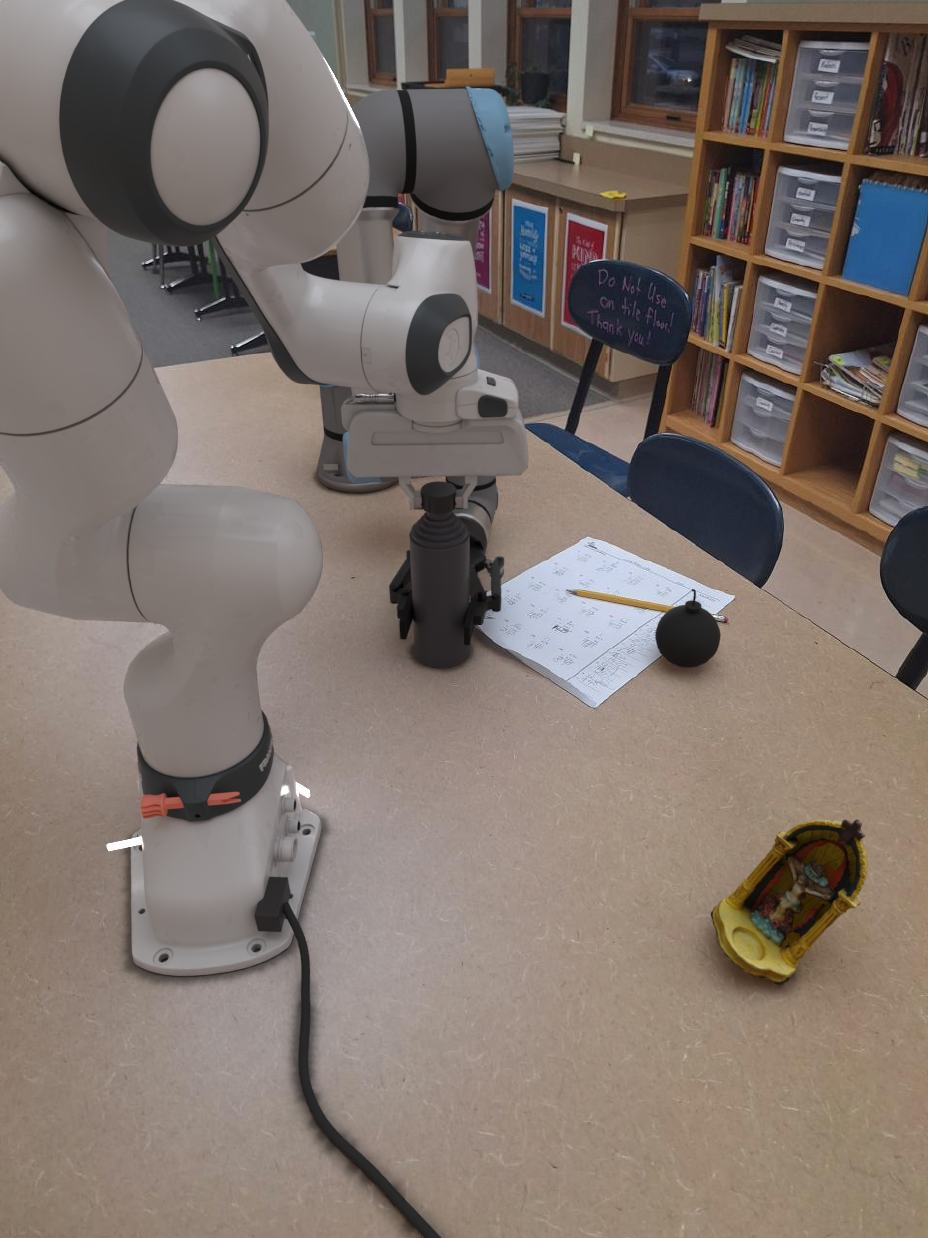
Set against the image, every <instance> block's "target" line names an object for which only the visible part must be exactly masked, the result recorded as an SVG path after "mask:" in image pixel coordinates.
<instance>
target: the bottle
mask: <svg viewBox="0 0 928 1238" xmlns="http://www.w3.org/2000/svg"><path fill="white" fill-rule="evenodd" d="M408 541H409V550H410V563H411V584H412V605H413V621H412V625H413V644H414V645H413V646H414V655H415V658H416V659H417V661H419V662H420V663H421V664H423V665H425V666H427V667H430V668H435V669H449V668H453V667H456V666H459V665H461V664H462V663H464V662H465V661H466V660H467V659H468V658H469V656H470V653H471V652H470V651H471V644H470V645H464V624H465V620H466V616H467V611H468V607H469V603H470V599H471V596H470V534H469V531H468V529H467V527H466V525H465V524H464V523H463V522H462V521H461V520H460V519H459V518H458V517H457V516H456V515H455V514H454V513H453V512H452V511H451V512H449V513H445V514H432V513H428V512H426V511H424V513H423V515H421V516H420V517H419V519H418V520H417V521H416V522H415V523H414V524H413V525H412V527H411V529H410V531H409V535H408Z"/></svg>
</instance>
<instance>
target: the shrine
mask: <svg viewBox="0 0 928 1238" xmlns="http://www.w3.org/2000/svg"><path fill="white" fill-rule="evenodd" d="M862 827H863V823H862V822H861V821H860V820H859V819H857V818H856V819H854V821H853V822H851V821H850V820H848V819H843V820H842V821H841V820H837V819H836V820H835V819H834V820H833V819H827V818H826V819H821V818H820V819H819V818H818V819H810V820H807V821H804V822H801V823H798V824H796V825H795V826H793V827H792V828H790V829H789V830H787V831H783V830H782V831H779V832H778V833H777V834H776V837H775V838H774V842H775V843H774V844H773V845H771V847H772V848H771V849H770V851H769V852H767V853H766V855H765V856H764V858H762V859H761V861H760V862H759V863H758V864H757V866H756V867H755V868H754V869H753V870H752V871H751V872H750V874H749V875H748V876H747V877H746V878H744V879H743V881H742V882H741V884H740V885H739V886H738V887H736V889H735V891H733V892H732V893H730V895H728V896H727V897H725V898H724V899H722V900H721V901H719V903H718V905H716V906H714V908H713V909H712V911H710V918H711V922H712V924H713V927H714V930H715V934H716V935H715V936H716V938H717V941H716V942H717V944H718V946H719V948H720V949H721V951H722V952H723V953H724V955H725V957H727V958H728V959H729V960H730V962H731V963H733V965H735V966H736V967H737V968H738V969H739V970H741V971H744V972H746V973H747V974H749V975H750V976H751V977H754V978H760V979H767V980H770V981H772V983H773V985H775V986H783V985H784V984H785V983H788V982H789V981H790V980H791V976H792V975H794V973H796V972H797V968H798V964H799V962H800V960H801V959H803V958H804V956H805V955H806V953H807V952H809V951H810V950H811V949H812V947H813V945H814V943H816V941H817V940H818V939H819V938H820V937H821V936H822V935H823V934H824V932H825V931H827V929H828V928H830V926H832V925H834V922H836V921H837V919H839V918H840V917H841V916H842V915H844V914H845V913H847V912H848V910H849V909H856V908H857V907H858V906H860V905H861V900H860V898H859V897H858V896H859V894H860V893H861V890H862V889H863V887H864V885H865V882H866V880H867V875H868V855H867V851H866V847H865V843H864V840H863V839H864V838H865V837H866V834H865V833H863V831H862Z"/></svg>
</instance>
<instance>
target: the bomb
mask: <svg viewBox="0 0 928 1238" xmlns="http://www.w3.org/2000/svg"><path fill="white" fill-rule="evenodd" d="M691 592H693V597H692V600H687V601H685V603H684V604H681V605H677V606H675V607H672V608H670V609H669V610H668V611H666V612H665V613H664V614H663V615H662V616H661V617H660V619H659V620H658V622H657V626H656V629H655V634H654V638H655V643H656V647H657V649H658V652H659V653H660V655H661V656H662V657H663V658H664V659H665V660H666V661H667V662H668V663H670V664H672V665H673V666H676V667H680V668H685V669H689V668H697V667H700V666H702V665H705V664H707V662H708V661H710V660H711V659H712V658H713V657H714V656H715V654H716V653H717V652H718V650H719V646H720V642H721V635H722V634H721V629H720V626H719V624H718V622H717V619H716V618H715V617H714V616H713V614H712V613H710V612H709V611H708V610H707V609H705V608H703V606H702V603H701V602H699V601H697V600H696V599H697V591H696V589H695V588H691Z"/></svg>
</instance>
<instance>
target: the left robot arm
mask: <svg viewBox="0 0 928 1238" xmlns="http://www.w3.org/2000/svg"><path fill="white" fill-rule="evenodd" d="M351 109H352V107H351V106H350V104H349V102H348V100H347V98H346V96H345V94H344V92H343V89H342V88H341V86H340V84H339V83H338V80H337V78H336V77H335V74H334V73H333V71H332V69H331V67H330V65H329V63H328V62H327V60H326V58H325V57H324V55H323V53H322V51H321V50H320V48H319V46H318V45H317V43H316V42H315V40H314V39H313V37H312V35H311V34H310V33H309V31H308V29H307V28H306V26H305V25H304V23H303V22H302V21H301V19H300V18H299V16H298V15H297V14H296V12H295V11H294V10H293V8H292V7H291V5H289V3H288V1H287V0H0V468H1V469H2V470H3V472H4V474H5V475H6V476H7V478H8V480H9V481H10V482H11V484H12V486H13V489H14V492H13V493H11V494H10V495H9V496H7V498H6V499H5V500H4V501H3V502H2V504H1V505H0V591H1V592H2V594H3V595H4V596H5V597H6V598H7V599H8V600H9V601H10V602H12V603H13V604H14V605H17V606H18V607H22V608H26V609H29V610H33V611H37V612H40V613H44V614H47V615H53V616H57V617H61V618H66V619H71V620H76V621H96V622H97V621H98V622H101V621H102V622H120V623H121V622H123V623H145V624H154V625H161V626H163V627H165V628H166V629H167V630H168V631H166V632H164V633H163V634H161V635H159V636H157V637H155V638H154V639H153V640H151V641H150V642H149V643H147V644H146V645H145V646H144V647H142V649H141V650H139V651H138V652H137V653H136V654H135V656H134V657H133V659H132V660H131V662H130V663H129V665H128V667H127V669H126V671H125V676H124V682H123V697H124V701H125V703H126V707H127V711H128V714H129V717H130V721H131V723H132V726H133V730H134V733H135V737H136V741H137V743H136V744H137V745H136V756H137V758H136V759H137V762H136V763H137V772H138V778H137V780H136V782H135V783H136V785H137V788H138V791H139V807H140V810H139V811H140V828H139V829H137V830H136V831H135V832H134V833H133V834H132V836H131V838H130V839H126V840H121V841H116V842H112V843H106V848H107V850H108V852H110V851H111V852H112V851H114V850H120V849H125V848H129V847H130V916H131V917H130V924H131V925H130V926H131V927H130V928H131V931H130V933H131V934H130V935H131V955H132V960H133V963H134V965H136V966H137V967H139V968H140V969H143V970H146V971H148V972H150V973H153V974H160V975H164V976H174V977H175V976H176V977H194V976H206V975H216V974H222V973H223V974H224V973H228V972H234V971H238V970H243V969H246V968H250V967H253V966H256V965H258V964H261V963H264V962H266V961H268V960H271V959H272V958H274V957H276V956H278V955H280V954H281V953H282V952H284V951H285V950H287V949H288V948H289V947H290V945H291V944H292V942H293V941H292V940H293V937H295V940H296V943H297V947H298V950H299V957H300V1005H301V1006H300V1028H299V1029H300V1030H299V1039H298V1040H299V1042H298V1073H299V1074H298V1075H299V1081H300V1085H301V1089H302V1090H301V1091H302V1094H303V1097H304V1100H305V1103H306V1106H307V1107H308V1110H309V1112H310V1114H311V1116H312V1118H313V1120H314V1121H315V1123H316V1124H317V1126H318V1128H319V1129H320V1130H321V1132H322V1133H323V1134H324V1136H325V1137H326V1138H327V1139H328V1140H329V1141H330V1142H331V1143H332V1145H334V1146H335V1147H336V1149H338V1150H339V1151H340V1152H341V1153H342V1154H343V1155H344V1156H345V1157H346V1158H347V1159H348V1160H350V1162H352V1163H353V1164H354V1165H355V1166H356V1167H357V1168H358V1169H359V1170H360V1171H361V1172H363V1173H364V1174H365V1176H366V1177H368V1178H369V1180H370V1181H371V1182H372V1183H373V1184H374V1185H375V1187H377V1188H378V1190H380V1192H381V1193H382V1194H383V1195H384V1196H385V1197H386V1198H387V1199H388V1200H389V1202H390V1203H391V1204H392V1205H393V1206H394V1207H395V1208H396V1209H397V1210H398V1212H399V1213H400V1214H401V1215H402V1216H403V1217H404V1218H405V1219H406V1221H408V1222H409V1223H410V1225H411V1226H412V1227H413V1228H415V1230H416V1231H417V1232H418V1233H419V1234H420V1235H421V1236H422V1237H423V1238H442V1237H441V1235H440V1234H439V1233H438V1232H437V1231H436V1230H435V1229H434V1228H433V1227H432V1226H431V1225H430V1223H428V1222H427V1221H426V1219H424V1217H423V1216H421V1214H419V1212H418V1211H417V1210H416V1209H415V1208H414V1207H413V1206H412V1205H411V1203H409V1202H408V1201H407V1200H406V1198H405V1197H404V1196H403V1195H402V1194H401V1193H400V1192H399V1191H398V1190H397V1188H396V1187H395V1186H394V1185H392V1183H391V1182H390V1181H389V1180H388V1179H387V1178H386V1176H384V1174H383V1173H382V1172H381V1171H380V1170H379V1169H378V1168H377V1167H376V1166H375V1165H374V1164H373V1163H372V1162H371V1161H370V1160H369V1159H367V1158H366V1157H365V1155H363V1153H361V1152H360V1151H359V1150H358V1149H357V1148H356V1147H354V1146H353V1144H351V1143H350V1142H349V1141H348V1140H347V1139H346V1138H345V1137H344V1136H342V1135H341V1133H340V1132H339V1131H338V1130H337V1129H336V1128H335V1127H334V1126H333V1124H332V1123H331V1122H330V1120H329V1119H328V1117H327V1116H326V1115H325V1114H324V1111H323V1110H322V1108H321V1106H320V1104H319V1102H318V1099H317V1098H316V1094H315V1092H314V1088H313V1085H312V1082H311V1077H310V1071H309V1070H310V1067H309V1046H310V1043H309V1042H310V1031H311V960H310V951H309V947H308V943H307V939H306V937H305V933H304V931H303V929H302V926H301V924H300V922H299V921H298V920H299V916H300V912H301V908H302V905H303V902H304V897H305V893H306V889H307V886H308V882H309V878H310V874H311V871H312V867H313V864H314V860H315V857H316V853H317V850H318V846H319V841H320V838H321V834H322V828H323V825H322V822H321V818H320V817H319V816H318V815H317V814H316V813H315V812H312V811H310V810H309V809H306V808H303V805H302V802H301V796H300V794H301V795H302V796H305V798H310V797H311V793H310V789H308V788H306V787H305V786H304V785H302V784H300V783H298V782H297V779H296V776H295V772H294V771H295V770H294V768H293V766H291V765H290V764H289V763H288V762H287V761H286V760H284V759H283V758H281V757H280V756H279V755H278V753H276V752H275V749H274V739H273V738H274V737H273V732H272V728H271V726H270V723H269V720H268V718H267V715H266V714H265V712H264V710H263V709H262V705H261V698H260V692H259V691H260V690H259V682H258V681H259V680H258V658H259V655H260V653H261V651H262V647H263V646H264V644H265V642H266V641H267V640H268V638H269V637H270V636H271V634H273V633H274V632H275V631H276V630H277V629H278V628H279V627H281V626H282V625H284V624H286V623H287V622H288V621H290V620H292V619H294V618H296V617H297V616H298V615H299V614H300V613H301V612H302V611H303V610H304V609H305V607H307V605H308V604H309V603H310V601H311V600H312V598H313V596H314V595H315V593H316V591H317V589H318V587H319V584H320V581H321V578H322V573H323V567H324V548H323V543H322V539H321V536H320V533H319V529H318V528H317V525H316V523H315V521H314V519H313V518H312V517H311V515H310V514H309V512H308V510H306V508H305V507H304V506H303V505H302V504H301V503H300V502H299V501H298V500H297V499H295V498H291V497H287V496H283V495H280V494H275V493H271V492H268V491H263V490H259V489H254V488H249V487H244V486H238V485H215V484H214V485H213V484H211V485H209V484H184V483H183V484H182V483H181V484H178V483H162V482H163V480H164V479H165V478H166V477H167V476H168V474H169V473H170V470H171V469H172V467H173V464H174V463H175V460H176V456H177V453H178V445H179V427H178V422H177V416H176V415H175V412H174V410H173V408H172V406H171V403H170V401H169V399H168V397H167V394H166V392H165V390H164V388H163V385H162V383H161V381H160V379H159V377H158V375H157V372H156V370H155V367H154V365H153V363H152V361H151V359H150V357H149V354H148V352H147V349H146V348H145V345H144V344H143V341H142V339H141V337H140V335H139V333H138V330H137V329H136V326H135V324H134V322H133V320H132V318H131V315H130V314H129V312H128V310H127V308H126V305H125V304H124V302H123V300H122V298H121V296H120V295H119V293H118V290H117V289H116V287H115V285H114V283H113V282H114V278H113V274H112V271H111V267H110V265H111V264H110V260H109V252H108V230H111V231H113V232H115V233H117V234H118V235H121V236H123V237H126V238H130V239H133V240H136V241H141V242H145V243H149V244H154V245H158V246H167V247H177V248H178V247H179V248H180V247H194V246H198V245H201V244H204V243H206V242H208V241H210V242H211V244H212V246H213V248H214V250H215V252H216V253H217V257H219V260H220V261H221V263H222V265H223V266H224V268H225V269H226V271H227V273H228V274H229V276H230V277H231V279H232V281H233V283H234V284H235V285H236V287H237V289H238V290H239V293H240V294H241V295H242V297H243V298H244V300H245V302H246V304H247V305H248V306H249V308H250V310H251V311H252V313H253V314H254V316H255V318H256V319H257V321H258V322H259V324H260V326H261V328H262V330H263V332H264V335H265V339H266V342H267V346H268V348H269V351H270V353H271V356H272V359H274V360H273V361H274V362H275V363H276V365H277V366H278V367H279V369H280V370H281V372H282V373H284V375H285V376H286V377H287V378H288V379H289V380H291V381H292V382H294V383H295V384H299V385H313V386H319V385H336V386H343V387H350V388H357V389H364V390H371V391H378V392H380V391H382V392H386V393H376V394H375V393H373V394H366V393H355V394H354V396H353V397H350V398H348V399H346V400H345V401H344V402H343V404H342V406H341V418H342V424H343V427H344V428H345V429H346V430H347V431H348V432H349V435H348V445H347V466H348V470H349V471H350V472H351V473H352V474H353V475H354V476H355V477H399V481H398V486H399V487H400V488H401V490H402V491H403V492H404V494H405V495H406V496H407V498H408V500H409V501H408V503H409V510H410V511H417V510H423V509H422V496H421V489H415V487H414V485H413V484H412V479H411V477H423V478H427V477H426V476H433V477H445V476H465V485H464V487H463V488H462V490H456V495H455V509H468V497H469V495H470V494H471V492H472V491H473V489H474V488H475V486H476V485H477V476H496V477H501V476H502V477H505V476H506V477H507V476H508V477H513V476H515V477H517V476H518V477H519V476H522V475H523V474H524V473H525V472H526V470H527V469H528V468H529V447H528V446H529V445H528V439H527V431H526V426H525V420H524V416H523V413H522V411H521V409H520V407H519V405H520V396H519V395H520V394H519V391H518V388H517V385H516V384H515V382H514V381H513V379H512V378H511V379H510V378H508V377H506V376H502V375H499V374H496V373H492V372H489V371H487V370H484V369H481V368H480V369H478V360H477V356H476V353H475V348H474V345H475V337H476V334H477V329H478V325H479V295H478V280H477V279H478V278H477V269H476V262H475V261H474V255H473V250H472V246H471V243H470V242H469V241H468V240H467V239H465V238H464V237H463V236H461V235H458V234H452V233H440V232H425V231H418V230H406V231H403V232H401V233H399V234H397V235H396V236H395V237H394V247H393V256H392V273H391V280H390V281H389V282H388V283H387V285H378V284H368V283H358V282H349V281H340V279H339V280H338V279H332V278H328V277H327V278H326V277H321V276H317V275H314V274H312V273H309V272H307V271H306V270H304V268H303V266H302V264H304V263H307V262H310V261H313V260H315V259H316V260H317V258H320V257H321V256H323V255H325V254H326V253H328V252H329V251H331V250H332V249H333V248H335V247H336V245H337V244H338V243H339V242H340V241H341V240H342V239H343V238H344V237H345V235H346V234H347V233H348V232H349V231H350V229H351V228H352V227H353V225H354V224H355V222H356V220H357V219H358V217H359V215H360V213H361V211H362V208H363V206H364V203H365V199H366V195H367V192H368V186H369V178H370V167H369V159H368V154H367V149H366V145H365V141H364V138H363V135H362V132H361V130H360V127H359V125H358V122H357V120H356V118H355V116H354V114H353V112H352V110H351ZM353 400H354V402H350V401H353ZM395 403H396V404H395ZM257 949H258V951H256V952H255V950H257ZM259 949H260V950H259ZM165 959H167V960H165ZM163 960H165V961H163ZM162 961H163V962H162Z"/></svg>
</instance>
